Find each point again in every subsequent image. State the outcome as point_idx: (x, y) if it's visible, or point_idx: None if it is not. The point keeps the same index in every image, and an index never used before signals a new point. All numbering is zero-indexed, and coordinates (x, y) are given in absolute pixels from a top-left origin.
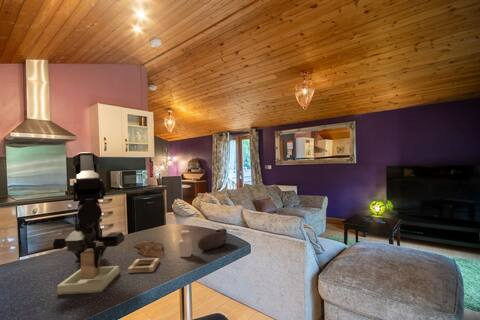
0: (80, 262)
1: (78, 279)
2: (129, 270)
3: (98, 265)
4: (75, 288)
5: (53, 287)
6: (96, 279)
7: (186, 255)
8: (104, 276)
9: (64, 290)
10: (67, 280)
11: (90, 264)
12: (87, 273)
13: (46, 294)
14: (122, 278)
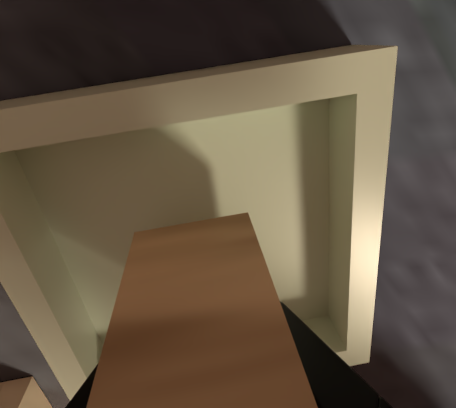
0: (323, 358)
1: (319, 256)
2: (15, 394)
3: None
4: (200, 74)
5: (451, 156)
6: None
7: None
8: None
9: (303, 55)
10: (356, 165)
11: (144, 343)
12: (189, 254)
13: (449, 46)
14: (2, 315)
